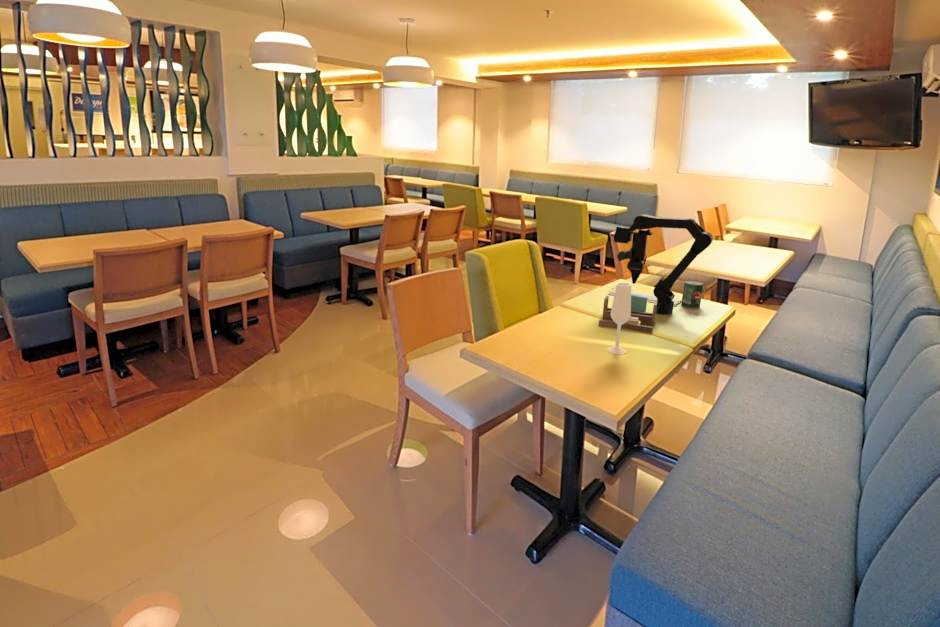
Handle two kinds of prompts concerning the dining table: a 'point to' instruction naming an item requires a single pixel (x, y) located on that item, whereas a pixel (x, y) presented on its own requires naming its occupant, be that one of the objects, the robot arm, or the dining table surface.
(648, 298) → the baseboard molding
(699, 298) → the canned tomato
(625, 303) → the champagne flute
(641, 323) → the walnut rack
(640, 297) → the teal sheet
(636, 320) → the upper offcut
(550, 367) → the dining table surface
